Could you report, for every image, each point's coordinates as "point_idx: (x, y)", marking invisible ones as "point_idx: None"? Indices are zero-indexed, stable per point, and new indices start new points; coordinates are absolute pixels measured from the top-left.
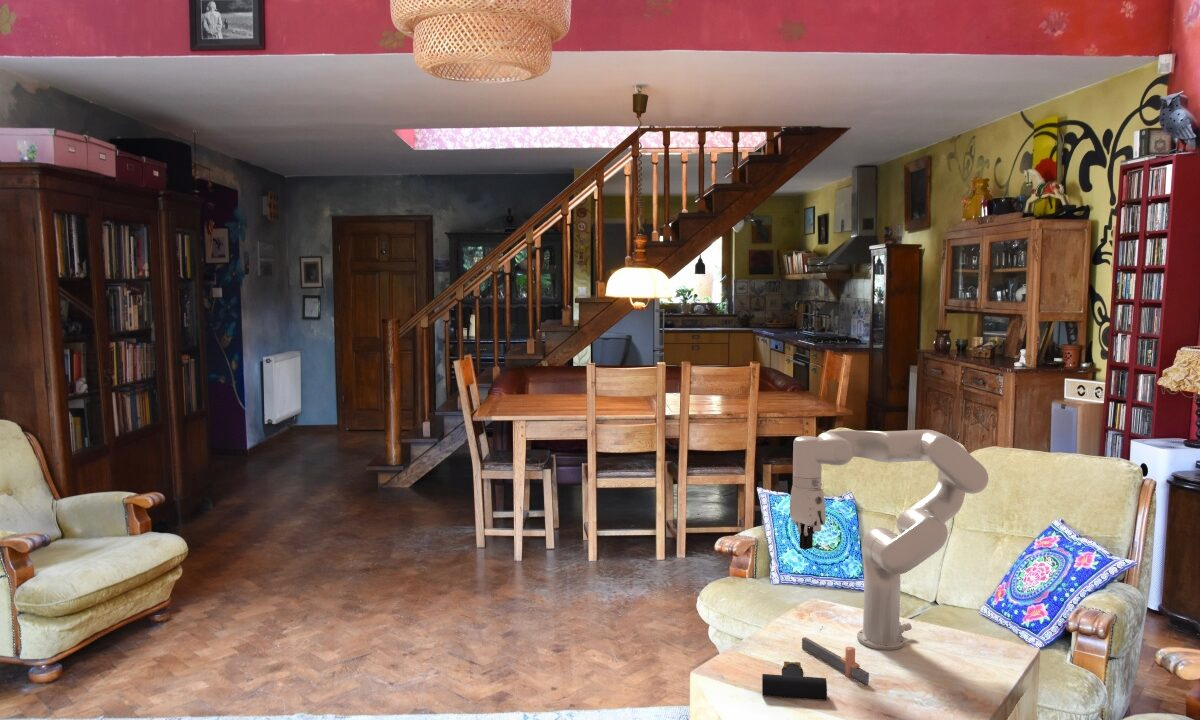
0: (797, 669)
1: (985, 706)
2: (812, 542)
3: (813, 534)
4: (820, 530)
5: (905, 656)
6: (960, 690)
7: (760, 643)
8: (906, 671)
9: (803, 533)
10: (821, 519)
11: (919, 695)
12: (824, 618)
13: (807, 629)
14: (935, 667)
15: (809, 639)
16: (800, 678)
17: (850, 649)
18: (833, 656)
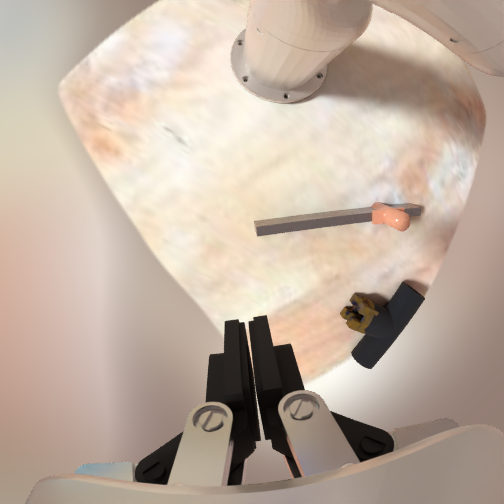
0: (380, 321)
1: (481, 111)
2: (270, 337)
3: (308, 393)
4: (451, 424)
5: (352, 69)
6: (454, 98)
7: (207, 291)
8: (397, 113)
9: (253, 441)
10: (469, 488)
11: (450, 158)
12: (133, 105)
13: (172, 168)
14: (397, 63)
15: (270, 225)
16: (401, 328)
17: (405, 224)
18: (352, 223)
